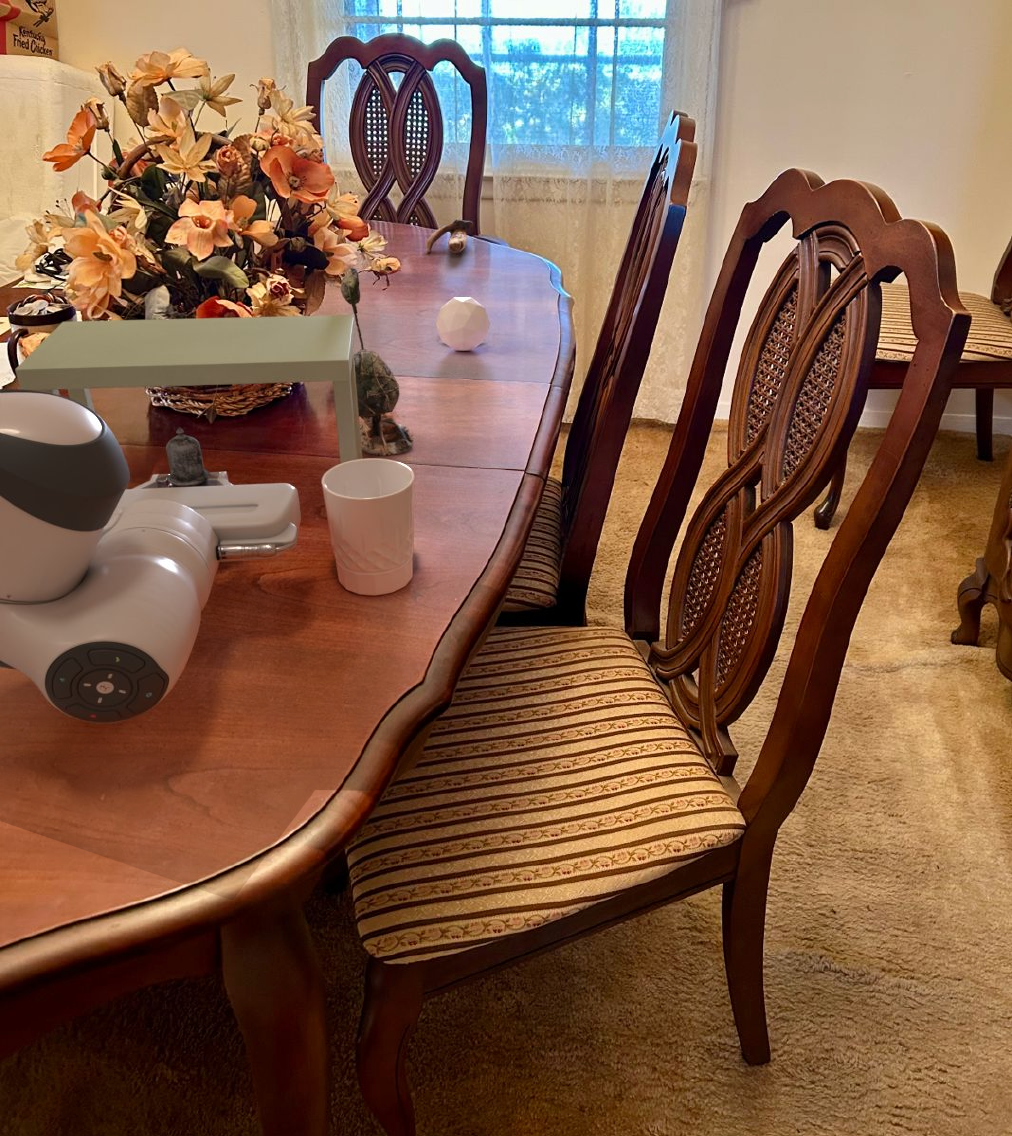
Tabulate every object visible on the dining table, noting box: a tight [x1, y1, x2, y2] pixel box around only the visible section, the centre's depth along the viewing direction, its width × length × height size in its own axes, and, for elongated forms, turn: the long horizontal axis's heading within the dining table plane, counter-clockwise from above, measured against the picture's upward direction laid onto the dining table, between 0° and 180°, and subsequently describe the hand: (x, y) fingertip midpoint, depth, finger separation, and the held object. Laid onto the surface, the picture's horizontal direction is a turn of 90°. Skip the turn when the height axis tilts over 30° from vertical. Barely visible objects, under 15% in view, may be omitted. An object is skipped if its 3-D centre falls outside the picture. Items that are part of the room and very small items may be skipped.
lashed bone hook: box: [426, 219, 474, 254], centre depth 193 cm, size 9×5×18 cm
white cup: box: [321, 457, 415, 596], centre depth 82 cm, size 8×8×10 cm
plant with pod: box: [340, 267, 414, 457], centre depth 104 cm, size 8×11×20 cm
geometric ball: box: [435, 296, 491, 351], centre depth 137 cm, size 8×8×8 cm
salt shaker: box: [165, 427, 210, 488], centre depth 83 cm, size 6×6×12 cm
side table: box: [14, 314, 363, 464], centre depth 93 cm, size 29×14×17 cm, turn 96°
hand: (191, 480), depth 84 cm, fingers closed on salt shaker, 3 cm apart
